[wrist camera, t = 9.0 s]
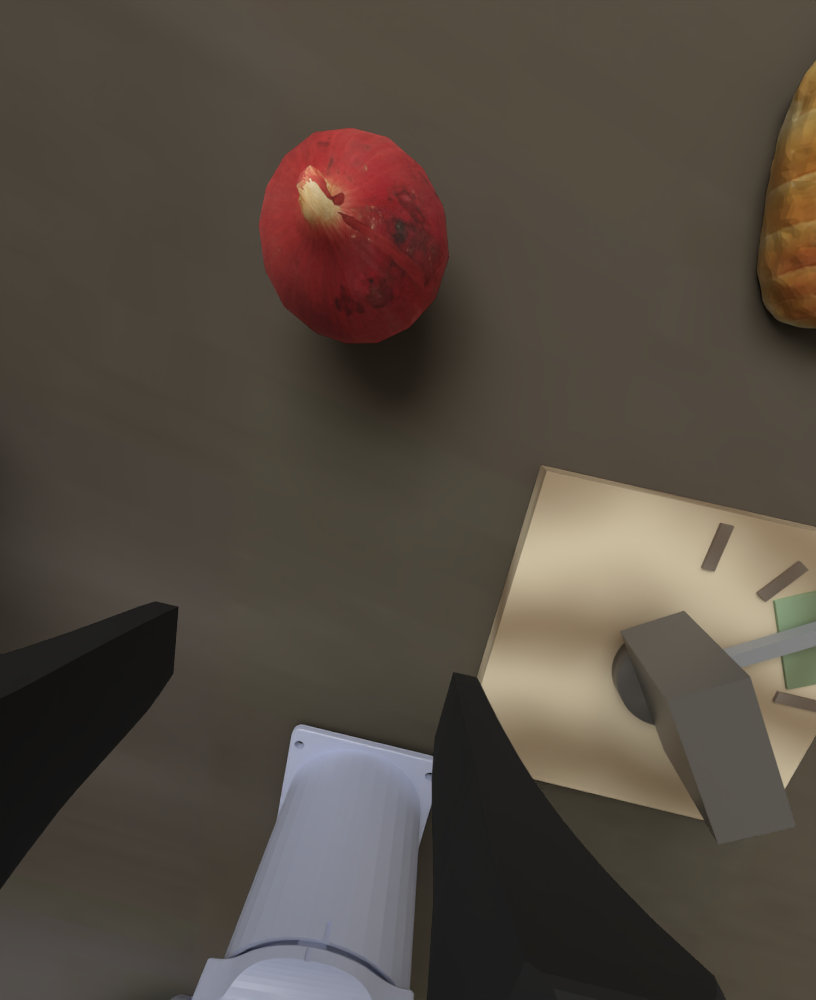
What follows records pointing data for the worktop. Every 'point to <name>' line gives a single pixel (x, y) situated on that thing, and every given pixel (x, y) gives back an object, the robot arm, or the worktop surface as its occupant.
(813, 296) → the pastry
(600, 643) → the board
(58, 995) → the worktop surface
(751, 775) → the dark angled piece
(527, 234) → the worktop surface
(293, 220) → the onion
